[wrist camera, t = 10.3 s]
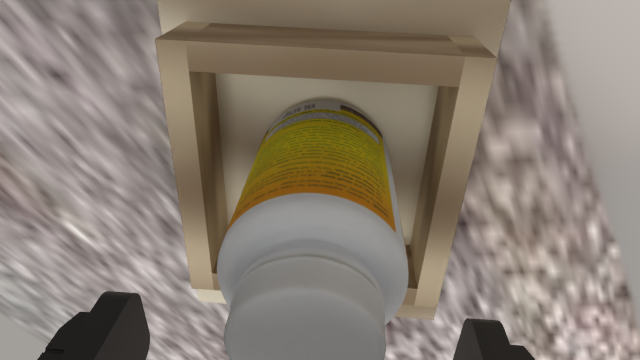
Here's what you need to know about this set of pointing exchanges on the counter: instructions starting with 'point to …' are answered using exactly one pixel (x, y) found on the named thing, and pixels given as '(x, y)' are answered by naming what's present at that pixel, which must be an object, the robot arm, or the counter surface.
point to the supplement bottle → (315, 242)
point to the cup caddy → (328, 85)
